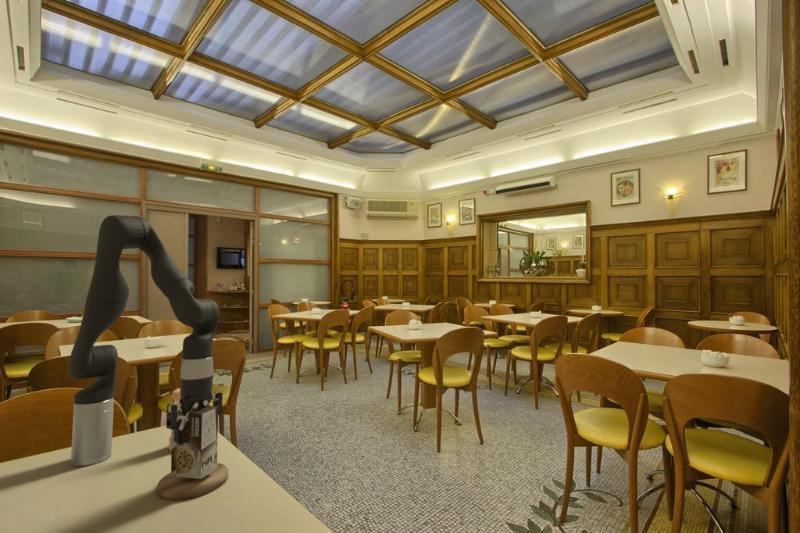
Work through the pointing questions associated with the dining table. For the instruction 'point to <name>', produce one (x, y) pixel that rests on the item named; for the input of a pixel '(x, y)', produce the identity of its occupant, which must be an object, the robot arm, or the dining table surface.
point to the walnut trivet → (191, 485)
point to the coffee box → (196, 445)
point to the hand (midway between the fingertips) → (195, 438)
